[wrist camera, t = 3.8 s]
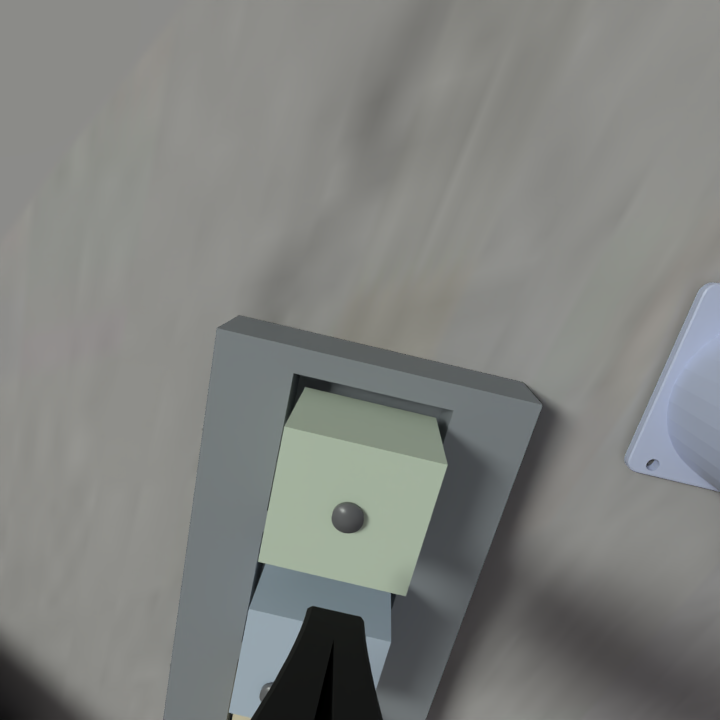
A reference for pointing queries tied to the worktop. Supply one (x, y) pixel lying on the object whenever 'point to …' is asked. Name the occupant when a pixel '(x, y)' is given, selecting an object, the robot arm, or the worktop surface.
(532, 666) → the worktop surface
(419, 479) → the tile one dot
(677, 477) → the robot arm
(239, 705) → the tile two dots
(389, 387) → the board
